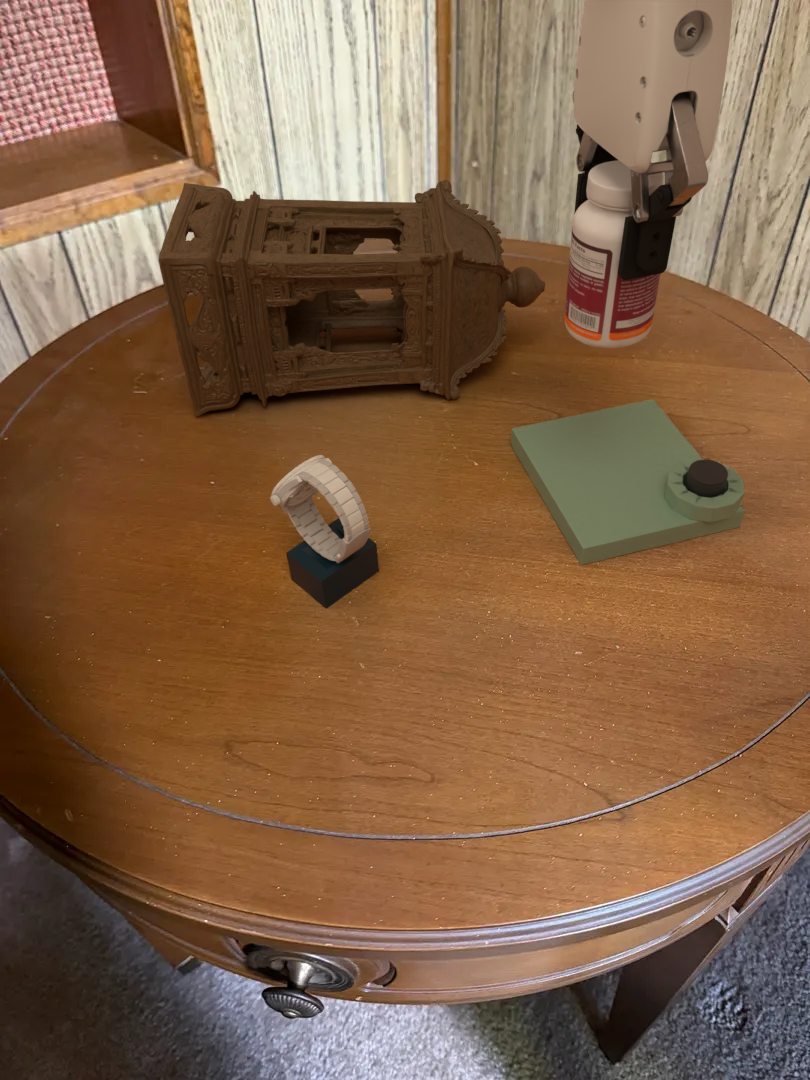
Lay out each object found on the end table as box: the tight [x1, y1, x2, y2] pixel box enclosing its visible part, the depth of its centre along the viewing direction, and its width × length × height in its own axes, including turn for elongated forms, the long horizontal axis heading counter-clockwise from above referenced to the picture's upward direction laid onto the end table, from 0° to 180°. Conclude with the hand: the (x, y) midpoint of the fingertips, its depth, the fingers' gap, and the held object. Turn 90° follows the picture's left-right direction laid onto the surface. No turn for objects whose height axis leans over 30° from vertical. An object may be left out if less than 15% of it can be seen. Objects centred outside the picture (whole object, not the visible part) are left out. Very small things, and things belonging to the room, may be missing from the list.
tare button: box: [686, 458, 728, 498], centre depth 68 cm, size 3×3×2 cm
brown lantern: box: [158, 179, 546, 417], centre depth 83 cm, size 35×18×18 cm, turn 92°
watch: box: [269, 454, 380, 609], centre depth 64 cm, size 6×8×11 cm
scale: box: [510, 398, 746, 566], centre depth 73 cm, size 16×14×4 cm
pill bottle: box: [564, 160, 665, 349], centre depth 57 cm, size 6×6×11 cm
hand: (617, 248), depth 57 cm, fingers closed on pill bottle, 6 cm apart
